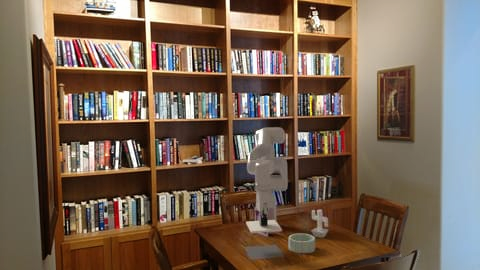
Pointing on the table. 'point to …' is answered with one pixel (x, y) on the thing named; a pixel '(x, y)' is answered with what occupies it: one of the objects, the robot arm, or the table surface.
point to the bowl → (301, 243)
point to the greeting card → (270, 217)
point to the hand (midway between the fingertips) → (263, 223)
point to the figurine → (319, 224)
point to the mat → (263, 252)
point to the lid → (263, 226)
